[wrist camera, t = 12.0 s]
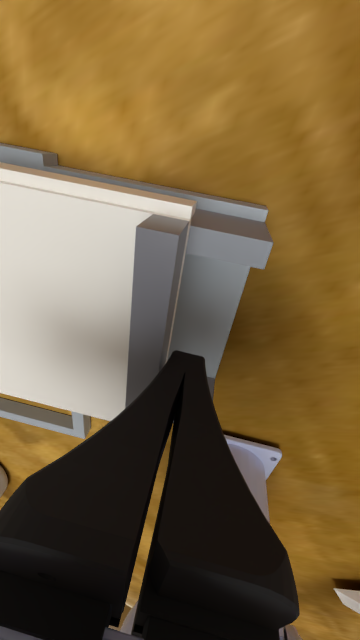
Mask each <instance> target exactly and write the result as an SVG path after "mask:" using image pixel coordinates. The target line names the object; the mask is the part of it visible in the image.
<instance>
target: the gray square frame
mask: <svg viewBox="0 0 360 640" xmlns="http://www.w3.org/2000/svg"><path fill="white" fill-rule="evenodd" d="M0 162H2V163H7V164H12V165H17V166H22V167H27V168H32V169H37V170H42V171H47V172H52V173H57V174H62V175H67V176H72V177H77V178H82V179H88V180H93V181H98V182H103V183H108V184H113V185H118V186H123V187H128V188H133V189H138V190H143V191H148V192H153V193H158V194H163V195H168V196H173V197H179V198H184V199H189V200H194V201H197V204H196V209H195V213H194V215H193V216H192V218H191V224H190V230H189V236H188V241H187V247H186V253H185V259H184V265H183V271H182V277H181V283H180V289H179V294H178V300H177V306H176V312H175V318H174V324H173V330H172V336H171V342H170V348H169V353H168V359H169V358H170V356H171V354H172V352H173V351H175V350H178V351H182V352H186V353H190V354H194V355H199V356H203V357H204V359H205V367H206V375H207V380H208V385H209V389H210V393H211V397H212V401H213V394H214V383H215V377H216V373H217V370H218V367H219V364H220V361H221V358H222V355H223V351H224V348H225V345H226V342H227V339H228V336H229V333H230V329H231V326H232V323H233V320H234V317H235V314H236V311H237V307H238V304H239V301H240V298H241V295H242V292H243V289H244V286H245V282H246V279H247V276H248V273H249V270H250V267H255V268H259V269H264V268H265V265H266V263H267V260H268V257H269V254H270V251H271V248H272V245H273V240H272V238H271V236H270V233H269V231H268V229H267V226H266V224H265V220H266V216H267V213H268V209H267V207H266V206H263V205H258V204H253V203H248V202H243V201H238V200H233V199H227V198H222V197H217V196H212V195H207V194H202V193H197V192H192V191H187V190H181V189H176V188H171V187H166V186H161V185H156V184H151V183H146V182H141V181H135V180H130V179H125V178H120V177H115V176H110V175H105V174H100V173H95V172H89V171H84V170H79V169H74V168H69V167H64V166H59V165H58V159H57V154H56V153H51V152H45V151H40V150H35V149H30V148H25V147H19V146H14V145H9V144H4V143H0ZM168 359H167V361H168ZM0 417H4V418H7V419H11V420H15V421H19V422H23V423H26V424H30V425H34V426H38V427H41V428H45V429H49V430H53V431H57V432H60V433H64V434H68V435H72V436H75V437H79V438H83V439H85V438H86V436H87V434H88V432H89V430H90V428H91V421H90V416H88V415H84V414H80V413H77V412H73V411H72V416H69V415H65V414H61V413H58V412H54V411H50V410H46V409H42V408H38V407H34V406H31V405H27V404H23V403H19V402H15V401H11V400H7V399H4V398H0ZM173 423H174V421H173Z"/></svg>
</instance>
